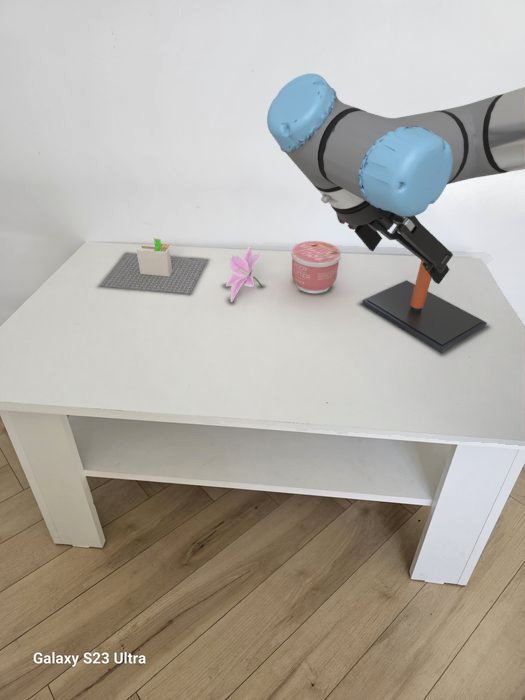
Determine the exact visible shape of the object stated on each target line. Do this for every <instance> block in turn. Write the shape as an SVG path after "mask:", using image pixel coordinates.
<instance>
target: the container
mask: <svg viewBox="0 0 525 700" xmlns="http://www.w3.org/2000/svg"><path fill="white" fill-rule="evenodd" d="M290 252H291V253H290V254H291V276H292V279H293V282H294V283H295V284H296V287H297V288H298V289H299V290H300V291H302V292H305V293H308V294H323V293H325V292H327V291H328V290H330V288H331V287H332V285H333V284H334V283H335V281H336V280H337V276H338V269H339V264H340V260H341V258H342V252H341V250H340V248H338V247H337V246H336V245H334V244H331V243H330V242H326V241H321V240H320V241H319V240H307V241H302V242H300V243H297V244H295V245H294V246H293V247H292V248H291V251H290Z"/></svg>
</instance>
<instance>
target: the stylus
mask: <svg viewBox="0 0 525 700" xmlns="http://www.w3.org/2000/svg"><path fill="white" fill-rule="evenodd" d="M420 260H421V259H420ZM424 268H425V267H424V266H423V261H422V260H421V261H420V264H419V268H418V272H417V276H416V280H415V283H414V284H415V287H414V291H413V295H412V299H411V303H410V305H411V307H410V309H411V310H412V311H413V312H420V311H421V310H422V308H423V307H424V303H425V299H426V296H427V292H429V288H430V285H431V281H432V278H431V276H430V275H429V273H428V272H427V271H426V270H425V269H424Z"/></svg>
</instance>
